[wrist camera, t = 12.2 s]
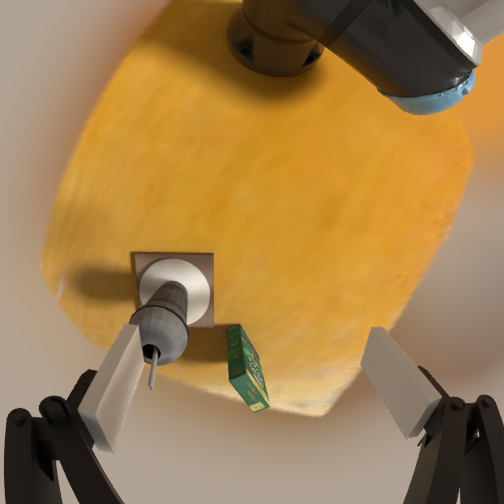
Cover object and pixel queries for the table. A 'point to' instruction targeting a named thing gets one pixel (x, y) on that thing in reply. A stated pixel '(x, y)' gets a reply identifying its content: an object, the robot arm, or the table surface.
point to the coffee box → (246, 369)
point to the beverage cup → (163, 326)
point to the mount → (187, 273)
